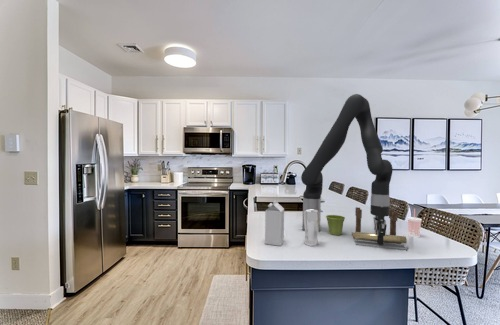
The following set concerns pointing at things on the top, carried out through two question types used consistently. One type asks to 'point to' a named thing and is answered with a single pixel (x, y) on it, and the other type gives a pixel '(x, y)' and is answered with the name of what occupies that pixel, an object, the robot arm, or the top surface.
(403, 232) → the top surface
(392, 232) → the hook stand
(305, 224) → the beer glass
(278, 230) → the milk carton
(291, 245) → the top surface
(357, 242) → the slate mat
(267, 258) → the top surface
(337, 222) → the plant pot
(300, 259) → the top surface
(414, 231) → the beverage cup
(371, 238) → the brass rail
